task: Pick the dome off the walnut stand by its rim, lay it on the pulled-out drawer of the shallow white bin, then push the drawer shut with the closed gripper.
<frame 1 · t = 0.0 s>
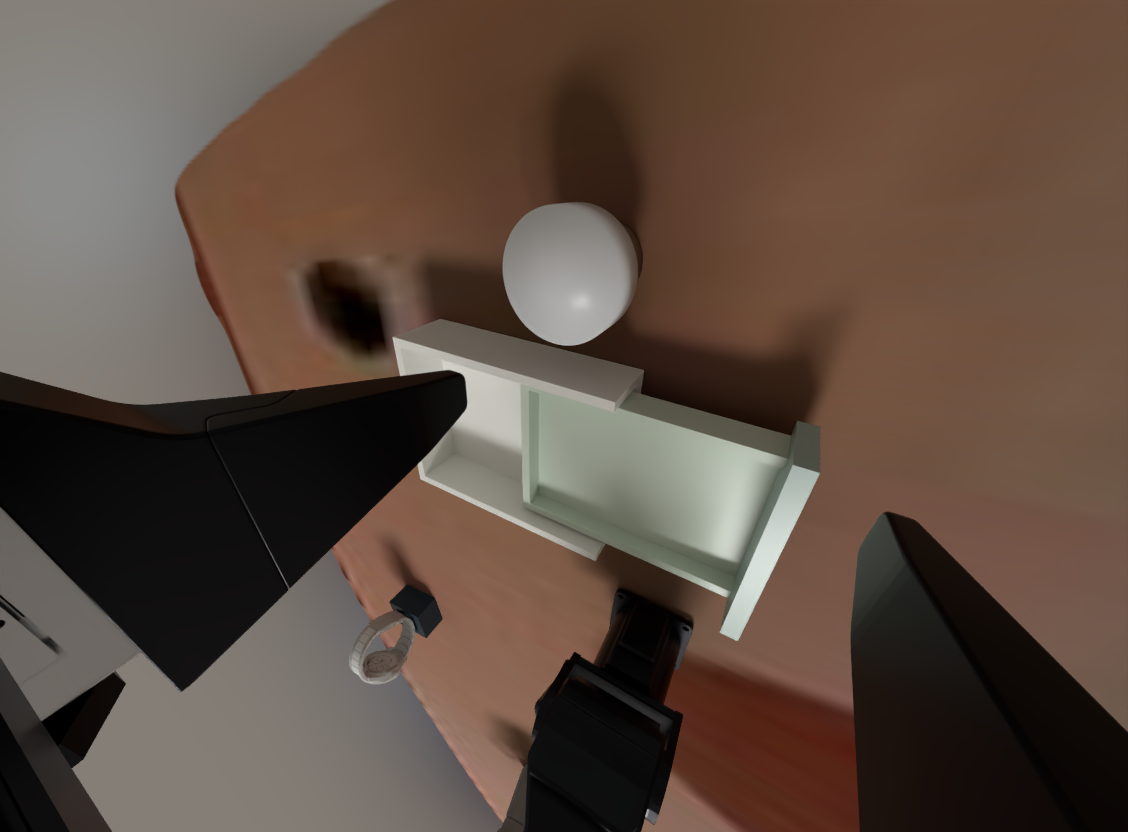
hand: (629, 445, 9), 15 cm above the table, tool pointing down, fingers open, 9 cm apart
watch: (426, 601, 57), on the table
shallow white bin: (531, 419, 30), on the table
dome: (578, 272, 19), point 3 cm above the table, touching stand
drawer: (633, 489, 24), point 3 cm above the table, slide at 8.0 cm
coffeepot: (543, 780, 68), on the table
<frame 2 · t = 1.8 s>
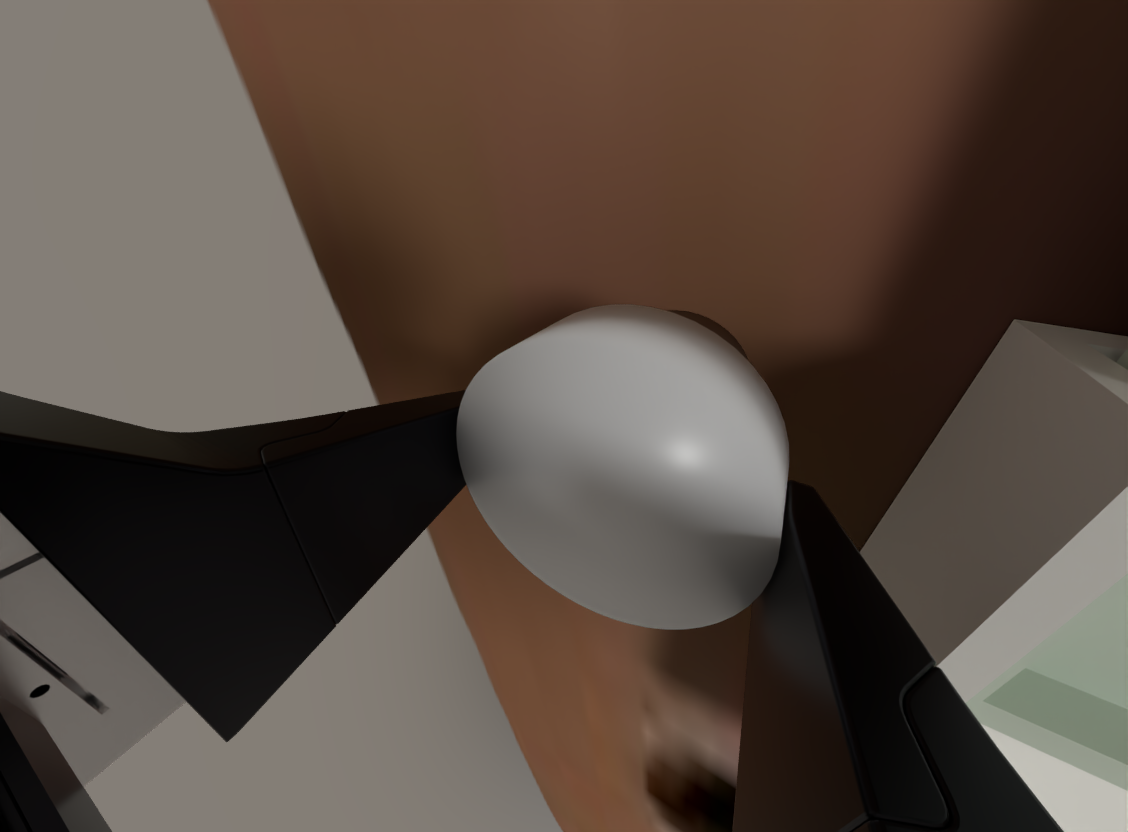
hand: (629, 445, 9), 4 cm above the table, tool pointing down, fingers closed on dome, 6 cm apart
stand: (673, 382, 11), on the table
dome: (629, 445, 9), point 4 cm above the table, touching gripper, stand
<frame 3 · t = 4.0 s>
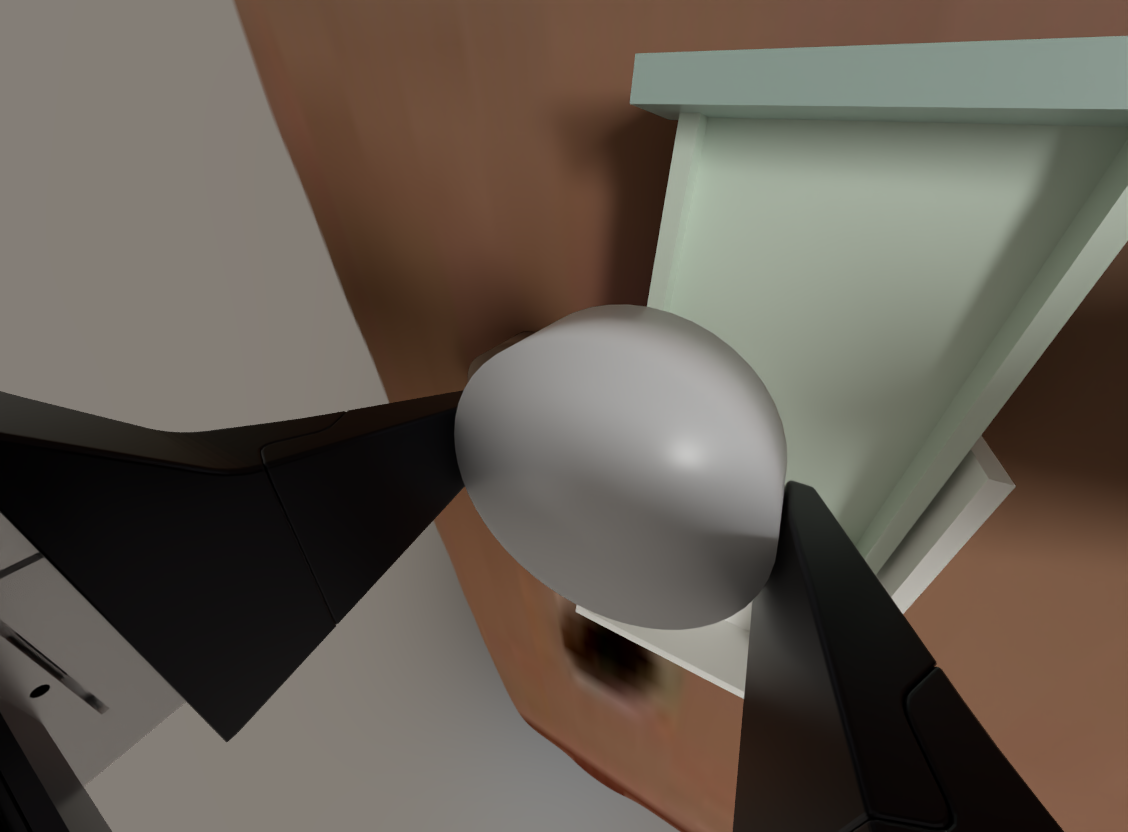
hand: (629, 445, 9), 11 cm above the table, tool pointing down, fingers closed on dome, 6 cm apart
stand: (535, 365, 23), on the table
shallow white bin: (729, 507, 21), on the table
dome: (627, 445, 9), point 11 cm above the table, touching gripper
drawer: (792, 369, 14), point 3 cm above the table, slide at 8.0 cm
when the fingers open (4 cm above the table, at t = 6.1 s): dome drops 2 cm, resting on drawer.
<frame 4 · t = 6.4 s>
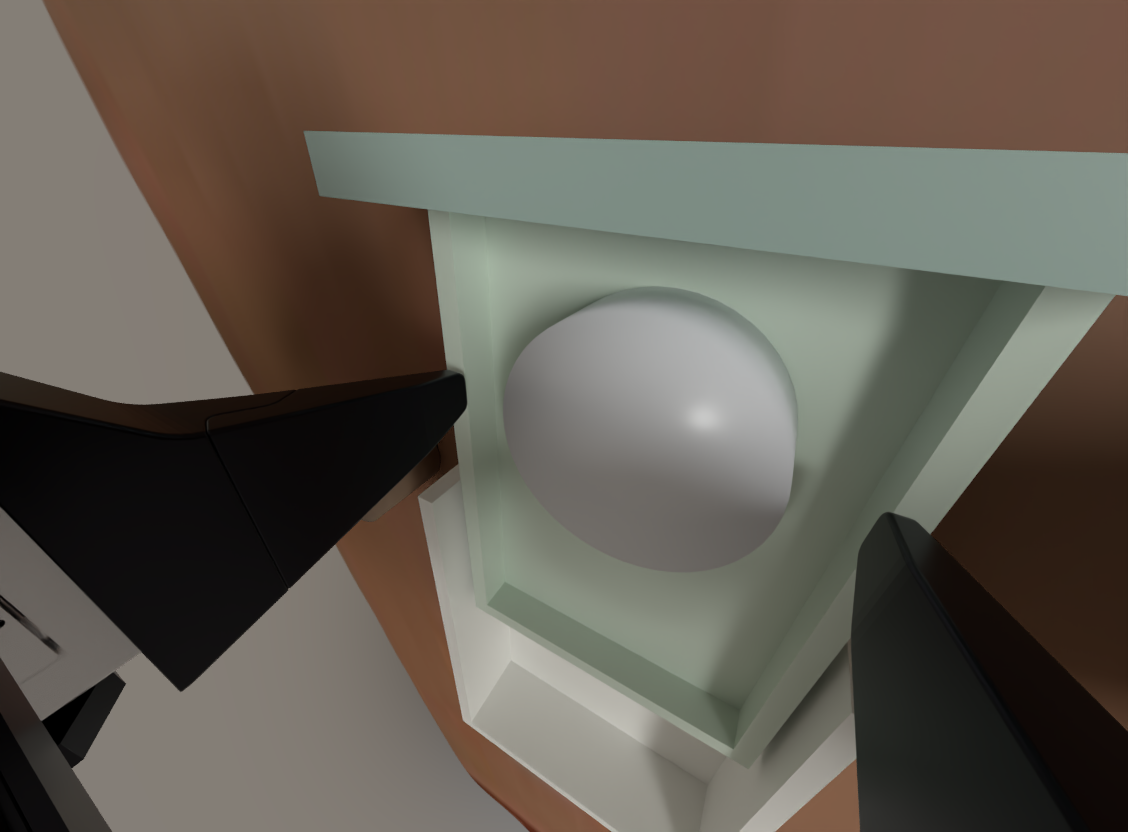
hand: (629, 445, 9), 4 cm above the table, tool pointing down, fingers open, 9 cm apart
stand: (409, 443, 20), on the table
shallow white bin: (623, 619, 18), on the table
dome: (654, 414, 10), point 2 cm above the table, touching drawer
drawer: (621, 516, 10), point 3 cm above the table, slide at 8.0 cm, touching dome
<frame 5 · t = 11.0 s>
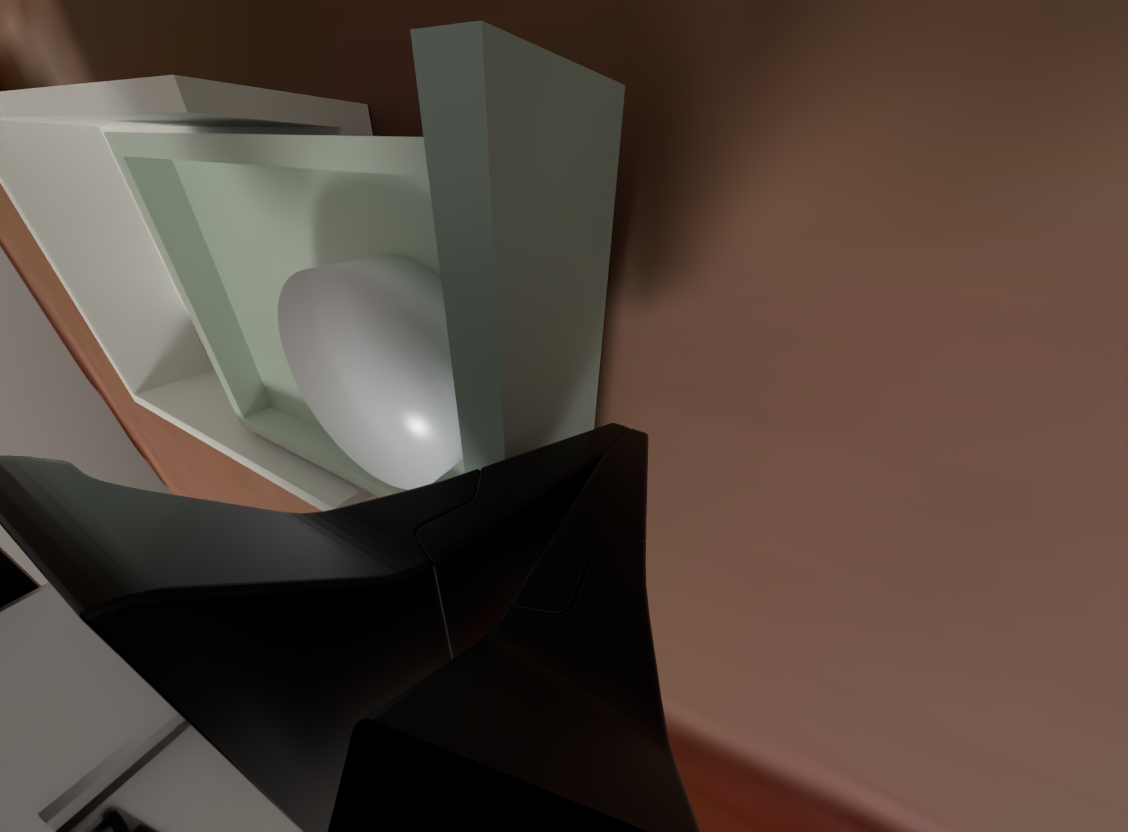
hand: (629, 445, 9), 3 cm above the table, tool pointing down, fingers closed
shallow white bin: (274, 285, 18), on the table
dome: (417, 364, 12), point 2 cm above the table, touching drawer
drawer: (328, 351, 12), point 3 cm above the table, slide at 6.9 cm, touching dome, gripper
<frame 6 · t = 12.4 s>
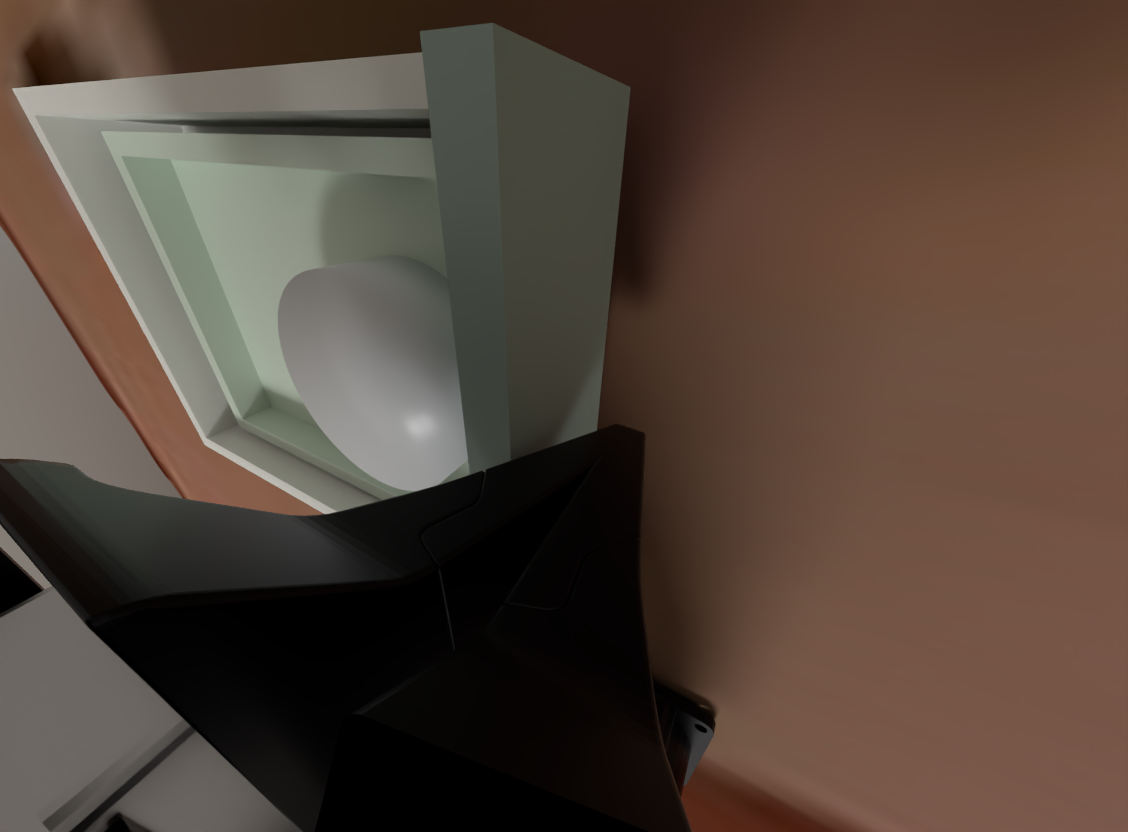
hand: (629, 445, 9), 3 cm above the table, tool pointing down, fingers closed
shallow white bin: (386, 315, 15), on the table
dome: (419, 365, 12), point 2 cm above the table, touching drawer
drawer: (329, 352, 12), point 3 cm above the table, slide at -0.1 cm, touching dome, gripper
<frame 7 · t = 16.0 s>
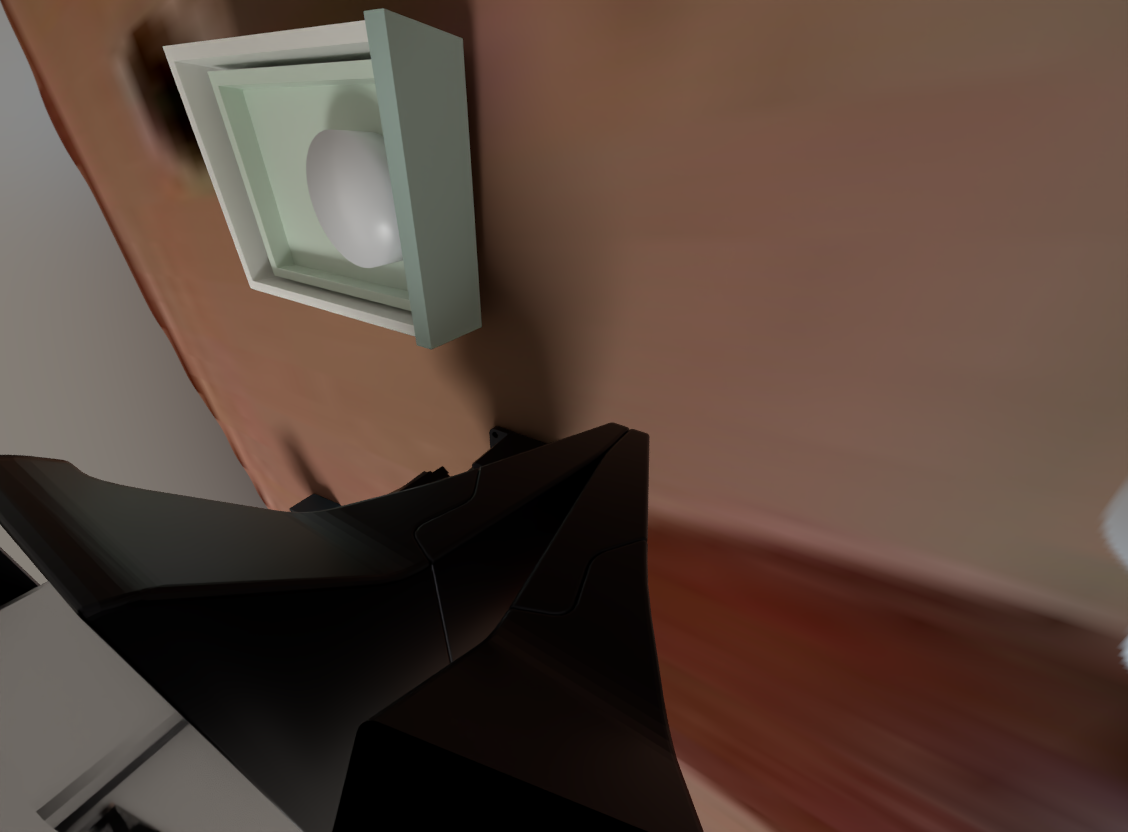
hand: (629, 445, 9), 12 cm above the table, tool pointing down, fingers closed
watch: (334, 511, 51), on the table
shallow white bin: (367, 191, 25), on the table
dome: (381, 201, 21), point 2 cm above the table, touching drawer
drawer: (332, 195, 21), point 3 cm above the table, slide at 0.0 cm, touching dome
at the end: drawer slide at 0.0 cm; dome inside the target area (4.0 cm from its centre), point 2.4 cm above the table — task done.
